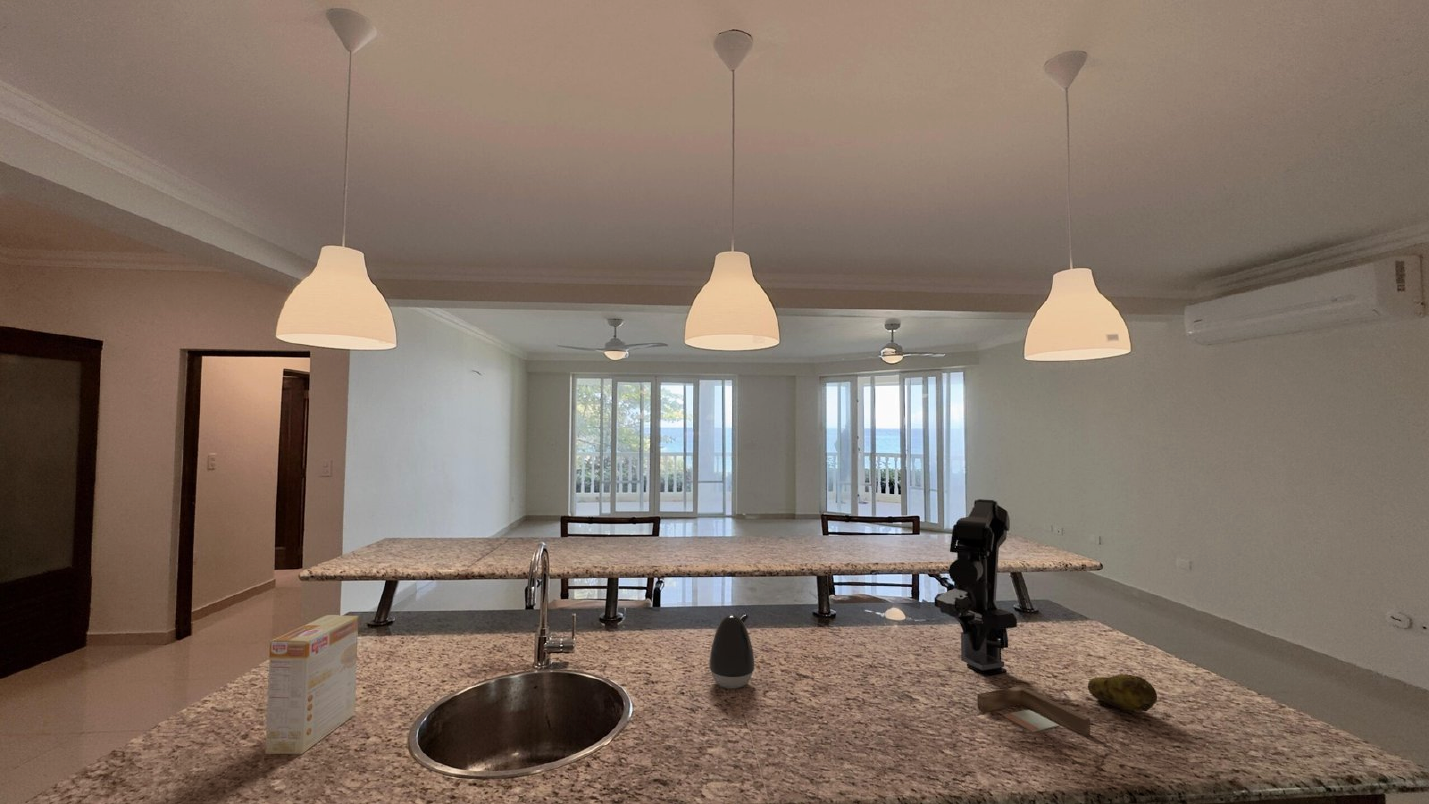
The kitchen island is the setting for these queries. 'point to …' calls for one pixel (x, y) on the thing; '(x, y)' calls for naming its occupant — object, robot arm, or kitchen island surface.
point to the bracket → (977, 654)
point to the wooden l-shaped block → (1034, 707)
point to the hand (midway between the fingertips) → (973, 649)
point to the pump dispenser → (732, 653)
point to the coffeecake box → (311, 683)
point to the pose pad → (1030, 720)
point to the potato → (1124, 692)
